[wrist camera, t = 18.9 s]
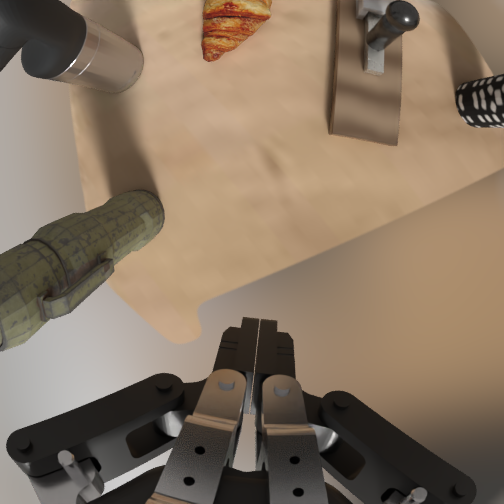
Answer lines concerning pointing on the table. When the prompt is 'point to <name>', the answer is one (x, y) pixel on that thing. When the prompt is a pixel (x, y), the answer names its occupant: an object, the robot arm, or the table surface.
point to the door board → (364, 79)
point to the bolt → (386, 32)
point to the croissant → (231, 24)
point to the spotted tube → (482, 102)
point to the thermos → (70, 261)
